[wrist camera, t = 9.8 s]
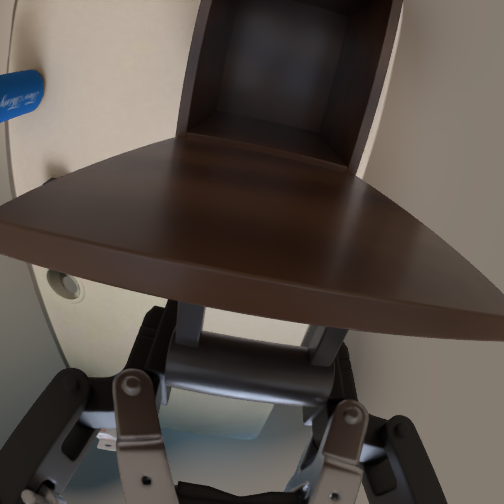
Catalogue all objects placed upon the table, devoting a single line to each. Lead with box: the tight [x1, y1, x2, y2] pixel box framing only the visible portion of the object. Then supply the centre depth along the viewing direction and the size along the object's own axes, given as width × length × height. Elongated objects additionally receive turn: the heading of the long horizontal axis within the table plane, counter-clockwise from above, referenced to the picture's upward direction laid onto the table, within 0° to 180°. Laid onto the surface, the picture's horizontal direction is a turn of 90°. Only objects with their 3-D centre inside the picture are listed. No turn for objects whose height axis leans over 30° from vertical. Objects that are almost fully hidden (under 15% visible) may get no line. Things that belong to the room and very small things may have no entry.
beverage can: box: [0, 70, 44, 123], centre depth 24 cm, size 6×6×12 cm
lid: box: [0, 137, 504, 407], centre depth 14 cm, size 17×14×6 cm
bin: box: [176, 0, 403, 176], centre depth 23 cm, size 17×14×14 cm
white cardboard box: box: [96, 429, 117, 451], centre depth 66 cm, size 8×5×15 cm, turn 110°
